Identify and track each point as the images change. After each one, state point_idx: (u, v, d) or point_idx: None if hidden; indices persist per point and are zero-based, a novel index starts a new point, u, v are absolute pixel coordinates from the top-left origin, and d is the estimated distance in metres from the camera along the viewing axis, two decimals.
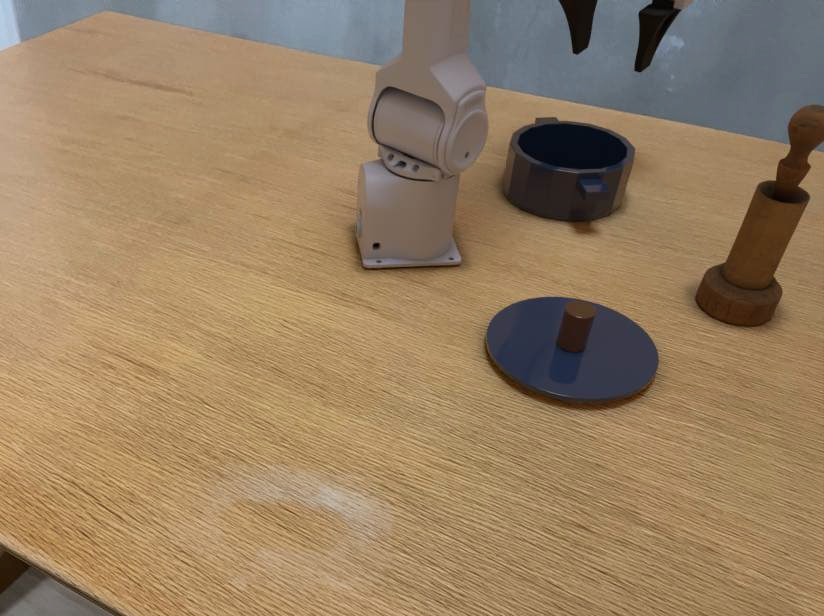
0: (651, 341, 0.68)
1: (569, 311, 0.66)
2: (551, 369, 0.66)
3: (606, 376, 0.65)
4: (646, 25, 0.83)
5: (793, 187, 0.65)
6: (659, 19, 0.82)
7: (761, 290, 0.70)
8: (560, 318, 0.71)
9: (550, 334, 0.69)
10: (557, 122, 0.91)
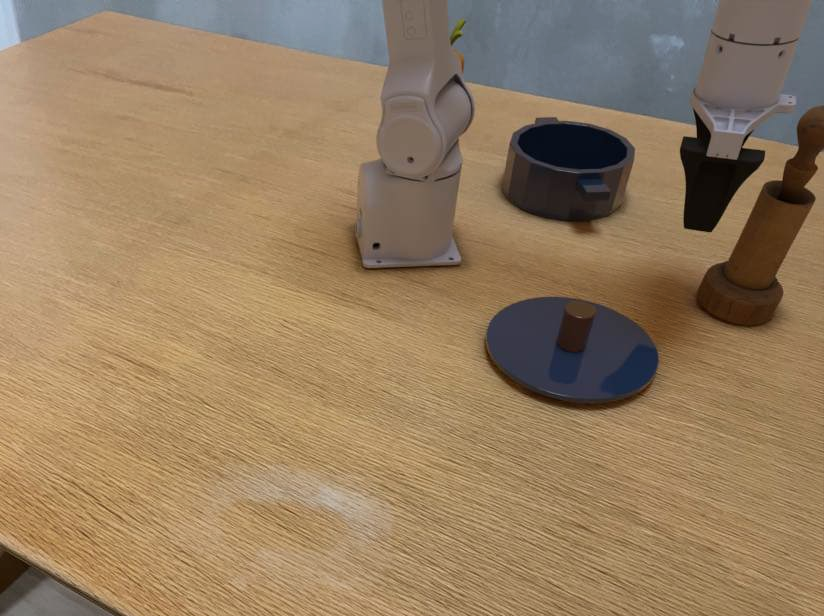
0: (651, 341, 0.68)
1: (569, 311, 0.66)
2: (551, 369, 0.66)
3: (606, 376, 0.65)
4: None
5: (799, 188, 0.65)
6: (683, 153, 0.60)
7: (762, 290, 0.70)
8: (560, 318, 0.71)
9: (550, 334, 0.69)
10: (557, 122, 0.91)
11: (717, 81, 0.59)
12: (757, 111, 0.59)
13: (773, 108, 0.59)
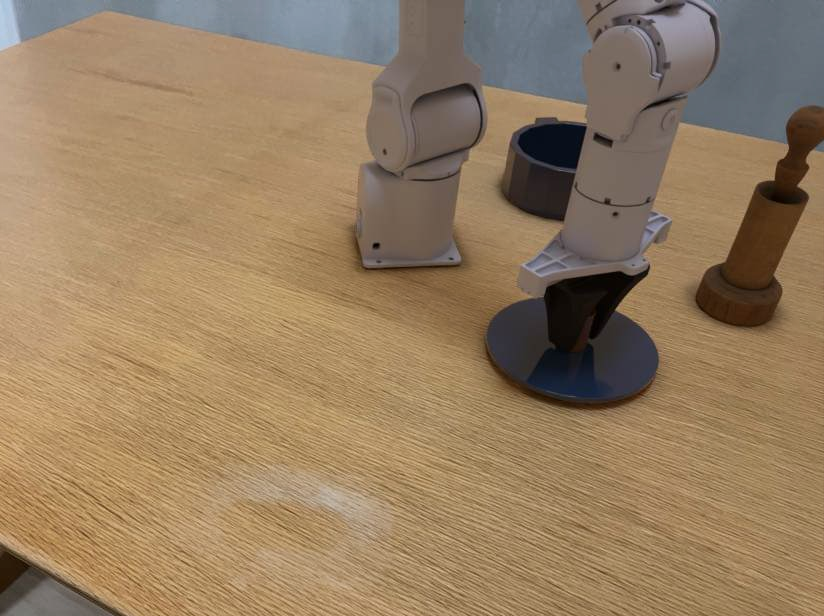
0: (651, 341, 0.68)
1: None
2: (551, 369, 0.66)
3: (607, 376, 0.65)
4: None
5: (791, 188, 0.65)
6: None
7: (760, 290, 0.70)
8: None
9: None
10: (557, 122, 0.91)
11: (566, 222, 0.61)
12: (591, 262, 0.60)
13: (610, 264, 0.59)
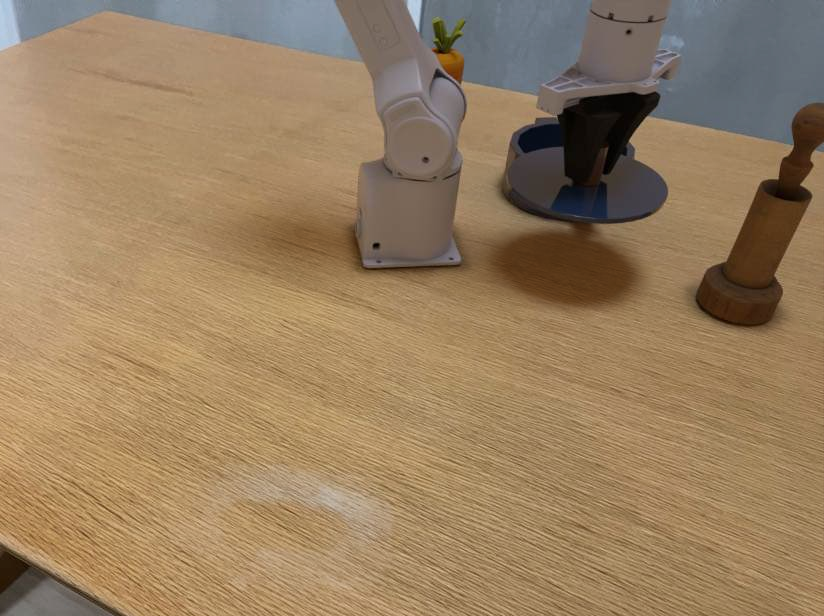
0: (661, 178, 0.73)
1: None
2: (567, 198, 0.71)
3: (619, 203, 0.70)
4: None
5: (795, 185, 0.65)
6: None
7: (760, 289, 0.70)
8: None
9: None
10: (557, 122, 0.91)
11: (583, 48, 0.66)
12: (606, 83, 0.65)
13: (623, 84, 0.64)
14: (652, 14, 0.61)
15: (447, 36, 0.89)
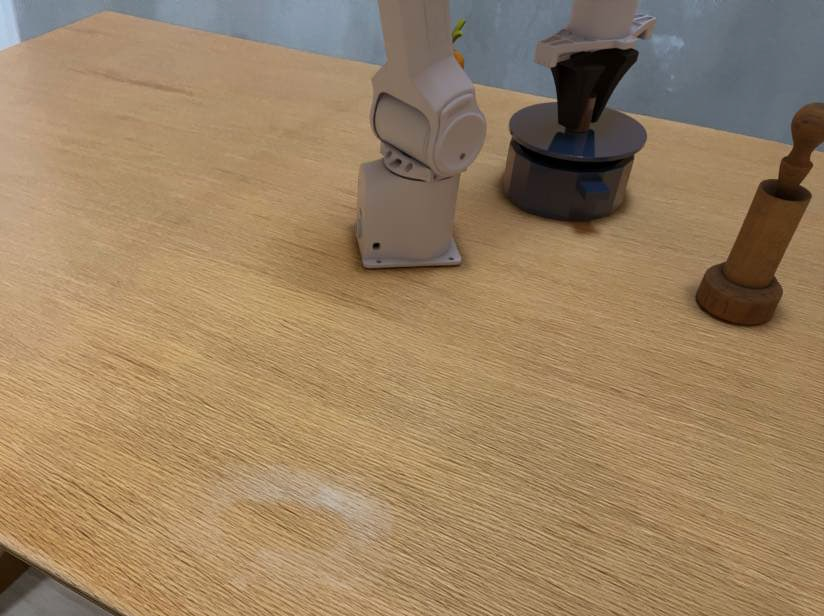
0: (641, 126, 0.85)
1: None
2: (561, 141, 0.83)
3: (605, 145, 0.82)
4: None
5: (794, 185, 0.65)
6: None
7: (760, 289, 0.70)
8: None
9: None
10: None
11: (573, 11, 0.78)
12: (592, 40, 0.77)
13: (607, 41, 0.76)
14: None
15: None
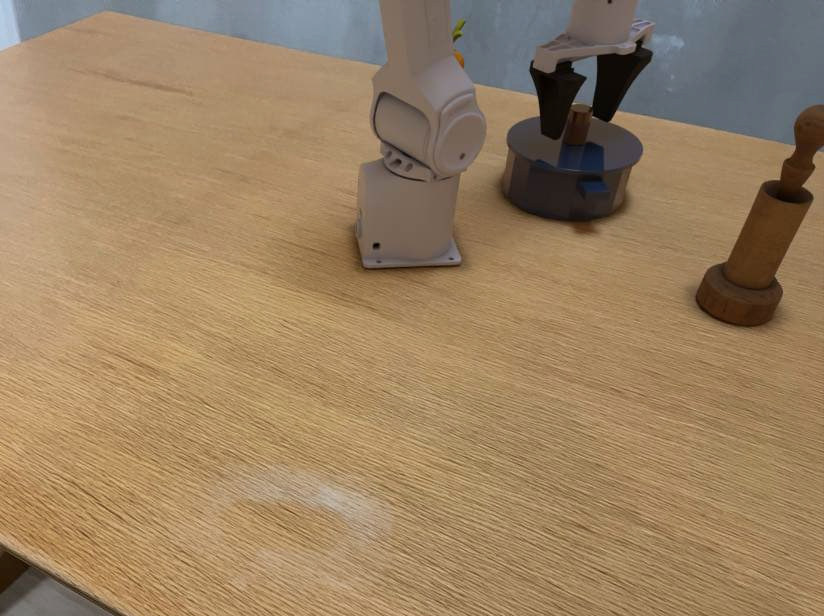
0: (637, 139, 0.86)
1: (572, 109, 0.83)
2: (558, 155, 0.83)
3: (602, 158, 0.83)
4: None
5: (796, 187, 0.65)
6: (530, 66, 0.80)
7: (760, 290, 0.70)
8: None
9: None
10: None
11: (572, 17, 0.78)
12: (591, 45, 0.77)
13: (606, 46, 0.77)
14: None
15: None
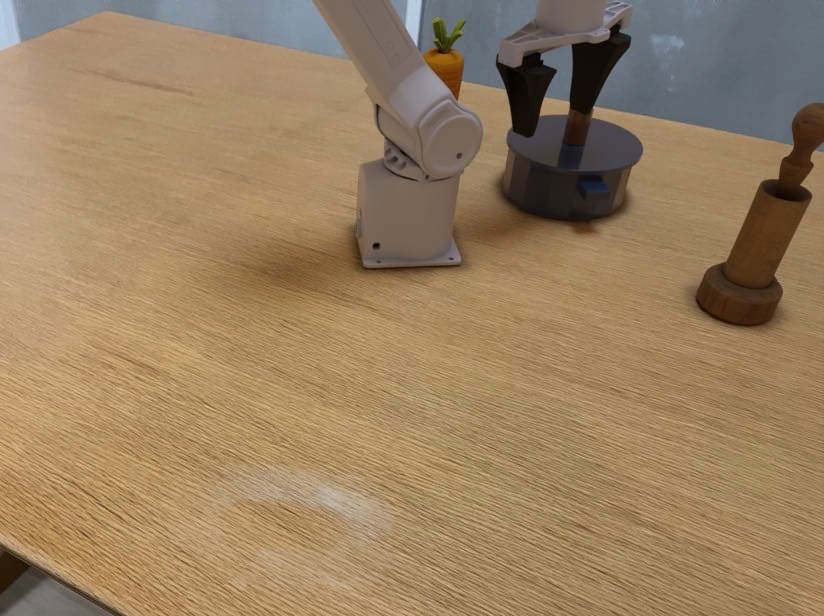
0: (637, 139, 0.86)
1: None
2: (558, 155, 0.83)
3: (602, 158, 0.83)
4: None
5: (795, 185, 0.65)
6: (496, 59, 0.74)
7: (759, 289, 0.70)
8: None
9: (557, 135, 0.87)
10: None
11: (539, 4, 0.71)
12: (561, 35, 0.71)
13: (576, 35, 0.70)
14: None
15: (447, 36, 0.89)
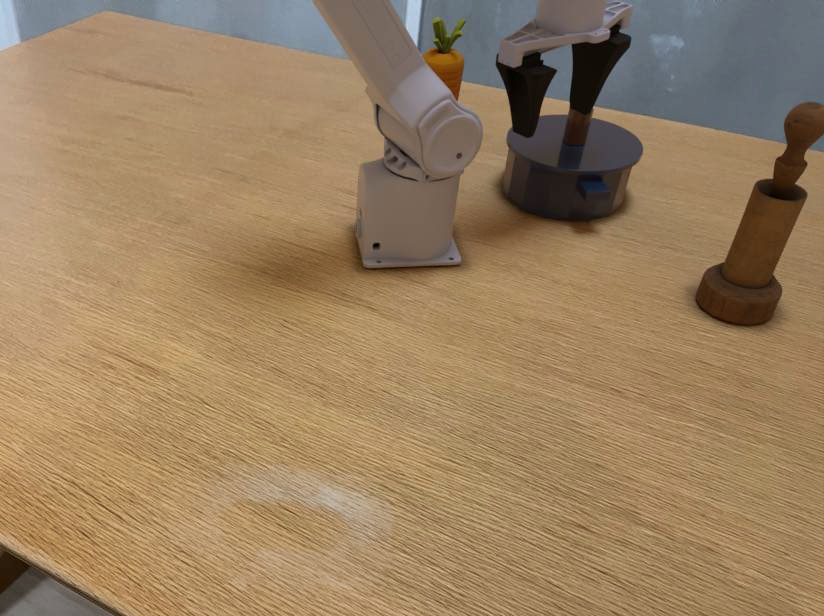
0: (637, 139, 0.86)
1: None
2: (558, 155, 0.83)
3: (602, 158, 0.83)
4: None
5: (789, 184, 0.65)
6: (496, 59, 0.74)
7: (757, 289, 0.70)
8: None
9: (557, 135, 0.87)
10: None
11: (539, 4, 0.71)
12: (561, 35, 0.71)
13: (576, 35, 0.70)
14: None
15: (447, 36, 0.89)
